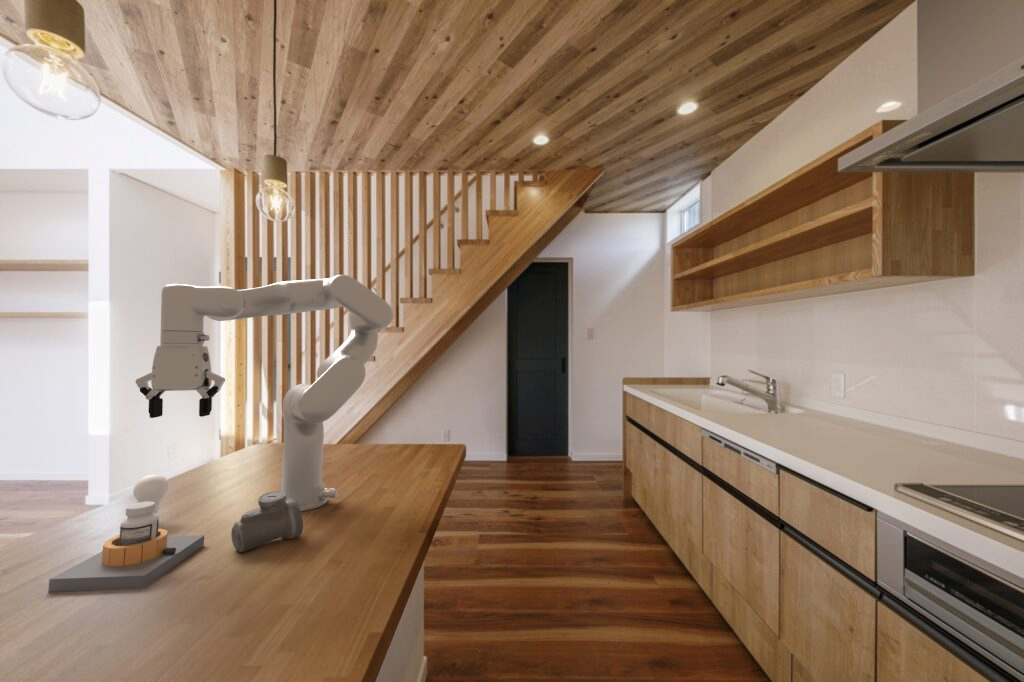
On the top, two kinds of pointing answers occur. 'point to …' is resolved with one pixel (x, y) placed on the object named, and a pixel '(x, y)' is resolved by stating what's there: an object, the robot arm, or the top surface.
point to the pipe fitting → (268, 522)
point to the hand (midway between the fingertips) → (180, 416)
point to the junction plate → (127, 564)
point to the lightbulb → (151, 489)
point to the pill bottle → (139, 524)
